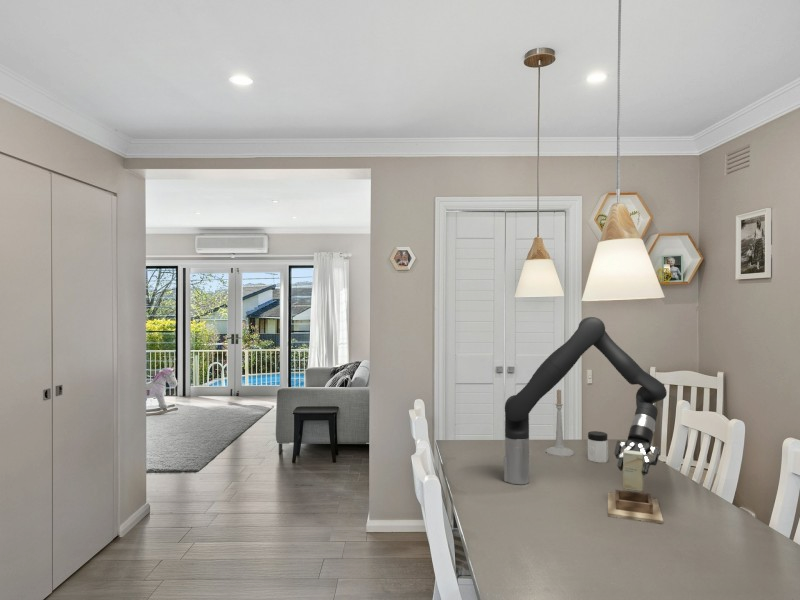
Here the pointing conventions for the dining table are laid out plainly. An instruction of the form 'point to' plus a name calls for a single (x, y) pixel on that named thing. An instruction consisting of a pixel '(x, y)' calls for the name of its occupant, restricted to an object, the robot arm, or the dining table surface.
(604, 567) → the dining table surface
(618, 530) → the dining table surface
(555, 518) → the dining table surface
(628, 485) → the skincare box
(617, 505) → the carrier plate
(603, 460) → the jar
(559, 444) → the candlestick
